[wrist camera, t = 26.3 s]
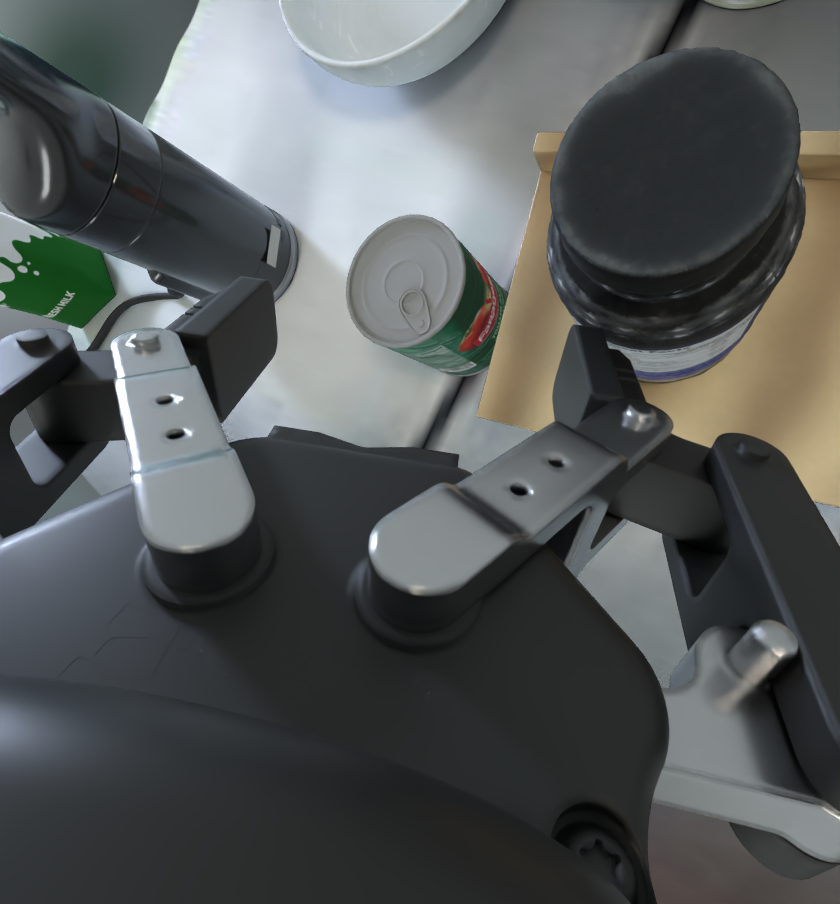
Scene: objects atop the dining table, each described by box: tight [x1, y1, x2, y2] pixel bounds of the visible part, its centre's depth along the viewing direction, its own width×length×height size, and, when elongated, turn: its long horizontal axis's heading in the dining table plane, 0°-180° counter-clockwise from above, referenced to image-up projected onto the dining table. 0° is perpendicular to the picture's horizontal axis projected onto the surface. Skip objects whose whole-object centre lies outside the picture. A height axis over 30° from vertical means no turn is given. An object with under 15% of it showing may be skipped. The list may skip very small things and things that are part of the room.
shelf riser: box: [477, 131, 840, 508], centre depth 25 cm, size 22×12×17 cm, turn 74°
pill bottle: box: [547, 48, 806, 384], centre depth 15 cm, size 6×6×11 cm
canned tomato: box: [346, 215, 508, 377], centre depth 35 cm, size 8×8×11 cm
